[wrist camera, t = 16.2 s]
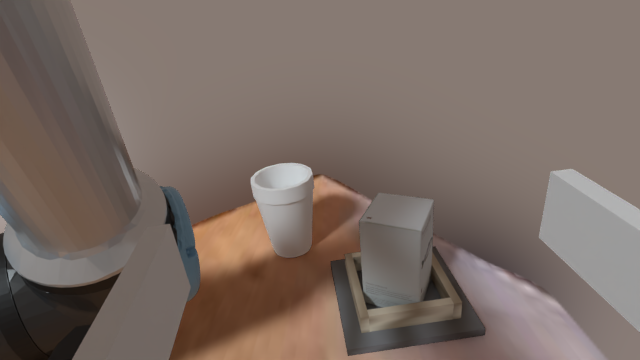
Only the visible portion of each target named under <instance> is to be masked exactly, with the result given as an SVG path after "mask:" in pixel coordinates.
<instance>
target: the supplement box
mask: <svg viewBox="0 0 640 360" xmlns="http://www.w3.org/2000/svg"><path fill="white" fill-rule="evenodd" d="M433 212H434V200H433V199H426V198H419V197H411V196H403V195H393V194H385V193H378V194H377V195H376V197H375V199H374V200H373V201H372V203H371V204H370V206H369V207H368V209H367V210H366V212H365V213H364V215H363V216H362V218H361V219H360V220H359V232H360V248H361V265H362V281H363V297H364V300H365V303H369V304H372V305H376V306H380V307H390V306H397V305H403V304H410V303H417V302H423V300H424V297H425V294H426V291H427V288H428V285H429V283H430V280H431V267H432V244H433V214H434V213H433Z"/></svg>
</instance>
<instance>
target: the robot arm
mask: <svg viewBox="0 0 640 360" xmlns="http://www.w3.org/2000/svg"><path fill="white" fill-rule="evenodd" d="M0 215H1V216H2V217H3V218H4V219H5V220H6V222H7V225H6V227H5V231H4V233H2V234H0V360H169V358H170V355H171V351H172V348H173V345H174V341H175V338H176V335H177V331H178V328H179V325H180V321H181V318H182V315H183V311H184V308H185V305H186V302H188V301H190V300H191V299H192V298H193V297H194V296H195V295H196V294H197V292H198V289H199V286H200V265H199V258H198V253H197V251H196V249H195V238H194V233H193V229H192V226H191V222H190V219H189V216H188V212H187V209H186V207H185V204H184V202H183V199H182V197H181V195H180V194H179V192H178V191H177V190H176V189H175V188H173V187H162V186H159V185H158V184H157V183H156V181H155V180H154V179H152V178H151V177H150V176H149V175H147V174H145V173H144V172H142V171H140V170H137V169H135V168H133V165H132V162H131V160H130V157H129V155H128V152H127V149H126V147H125V144H124V141H123V139H122V136H121V133H120V131H119V128H118V126H117V123H116V120H115V117H114V115H113V112H112V110H111V107H110V104H109V102H108V99H107V96H106V94H105V91H104V88H103V86H102V83H101V80H100V78H99V75H98V73H97V70H96V67H95V65H94V62H93V59H92V57H91V54H90V51H89V49H88V46H87V43H86V41H85V38H84V35H83V33H82V30H81V28H80V25H79V22H78V20H77V17H76V14H75V12H74V9H73V6H72V4H71V1H70V0H0ZM539 238H540V239H541V240H542V241H543V242H544V243H545V244H546V245H548V246H549V247H550V248H551V249H552V250H553V251H554V252H555V253H556V254H557V255H558V256H559V257H560V258H562V260H564V262H566V263H567V264H568V265H569V266H570V267H571V268H572V269H573V270H574V271H575V272H576V273H577V274H578V275H580V277H581V278H582V279H584V280H585V281H586V282H587V283H588V284H589V285H590V286H591V287H592V288H593V289H594V290H595V291H596V292H597V293H598V294H600V295H601V296H602V297H603V298H604V299H605V300H606V301H607V302H608V303H609V304H610V305H611V306H612V307H613V308H614V309H615V310H616V311H617V312H619V313H620V314H621V315H622V316H623V317H624V318H625V319H626V320H627V321H628V322H629V323H630V324H631V325H632V326H633V327H635V329H637V330H638V331H639V332H640V209H638V208H636V207H635V206H633V205H631V204H630V203H628V202H626V201H625V200H623V199H621V198H620V197H618V196H616V195H615V194H613V193H611V192H610V191H608V190H606V189H605V188H603V187H601V186H600V185H598V184H596V183H595V182H593V181H591V180H590V179H588V178H586V177H585V176H583V175H581V174H580V173H578V172H577V171H575V170H573V169H567V170H560V171H552V172H551V173H550V179H549V184H548V190H547V196H546V201H545V206H544V212H543V217H542V223H541V228H540V234H539Z"/></svg>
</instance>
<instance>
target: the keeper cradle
mask: <svg viewBox="0 0 640 360" xmlns="http://www.w3.org/2000/svg"><path fill="white" fill-rule="evenodd" d="M331 268H332V274H333V279H334V284H335V290H336V295H337V300H338V306H339V311H340V316H341V321H342V327H343V332H344V337H345V343H346V348H347V353H348V356H350V355H357V354H363V353H370V352H376V351H383V350H389V349H396V348H403V347H409V346H416V345H422V344H429V343H435V342H442V341H448V340H455V339H461V338H468V337H475V336H481V335H485V327H484V326H483V324H482V323H481V321H480V319H479V318H478V316H477V314H476V313H475V311H474V309H473V308H472V306H471V305H470V303H469V301H468V300H467V298H466V296H465V295H464V293H463V291H462V290H461V288H460V287H459V285H458V283H457V282H456V280H455V278H454V277H453V275H452V274H451V272H450V270H449V269H448V267H447V265H446V264H445V262H444V260H443V259H442V257H441V256H440V254H439V252H438V251H437V249H436V247H435V246H434V247H432V267H431V280H430V283H429V285H428V288H427V291H426V294H425V297H424V300H423V302H417V303H410V304H403V305H397V306H390V307H380V306H376V305H372V304H369V303H365V300H364V297H363V281H362V265H361V252H356V253H349V254H345V259H343V260H336V261H331Z"/></svg>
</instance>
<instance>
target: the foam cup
mask: <svg viewBox="0 0 640 360" xmlns="http://www.w3.org/2000/svg"><path fill="white" fill-rule="evenodd" d="M251 187H252V191H253V196H254V198H255V199H256V202H257V204H258V207H259V210H260V213H261V216H262V218H263V221H264V224H265V227H266V229H267V232H268V235H269V238H270V241H271V243H272V246H273V249H274V251H275V253H276V254H278V255H279V256H281V257H285V258H293V257H298V256H301V255H303V254H305V253H306V252H307V251H309V250H310V248H311V246H312V213H313V189H314V181H313V174H312V171H311V168H309V167H307V166H305V165H303V164H297V163H283V164H276V165H272V166H268V167H265V168H264V169H261V170H259V171H257V172H256V173H255V174H254V175H253V176H252V177H251Z"/></svg>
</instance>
